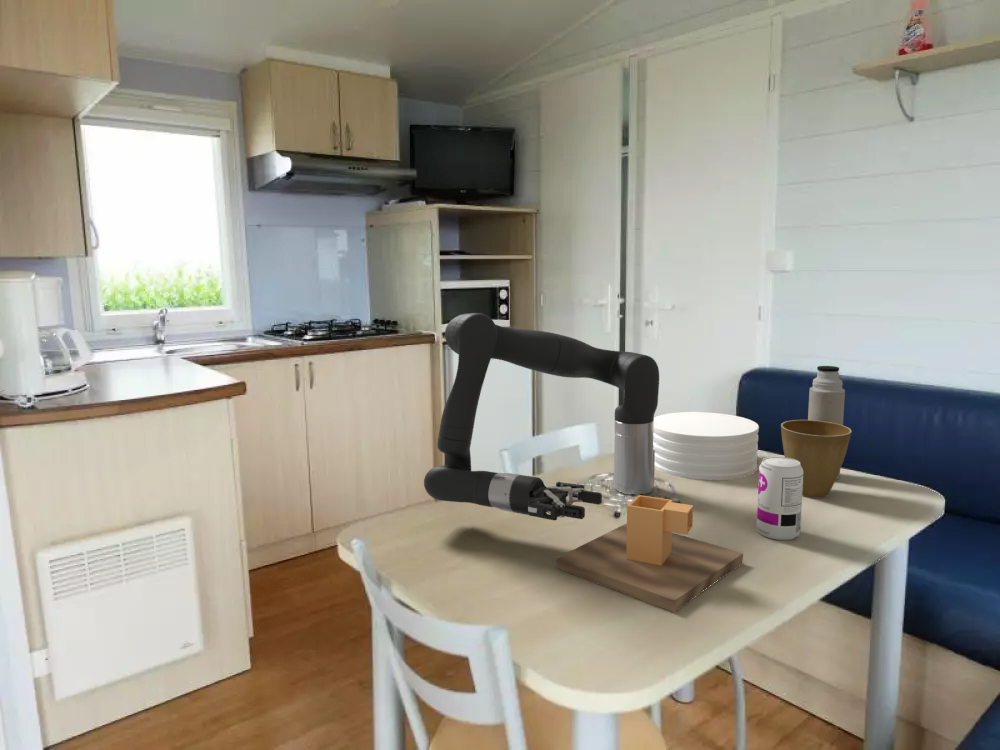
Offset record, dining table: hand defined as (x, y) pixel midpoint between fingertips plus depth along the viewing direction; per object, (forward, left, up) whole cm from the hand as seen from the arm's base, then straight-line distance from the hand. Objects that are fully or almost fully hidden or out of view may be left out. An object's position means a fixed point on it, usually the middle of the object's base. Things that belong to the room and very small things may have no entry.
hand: (592, 505), depth 131 cm
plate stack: (-67, -13, -10) cm, 69 cm away
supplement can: (-33, +22, -10) cm, 41 cm away
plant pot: (-62, +18, -10) cm, 65 cm away
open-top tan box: (-3, +13, -8) cm, 15 cm away
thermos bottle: (-77, +15, -10) cm, 79 cm away
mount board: (-3, +11, -10) cm, 15 cm away
